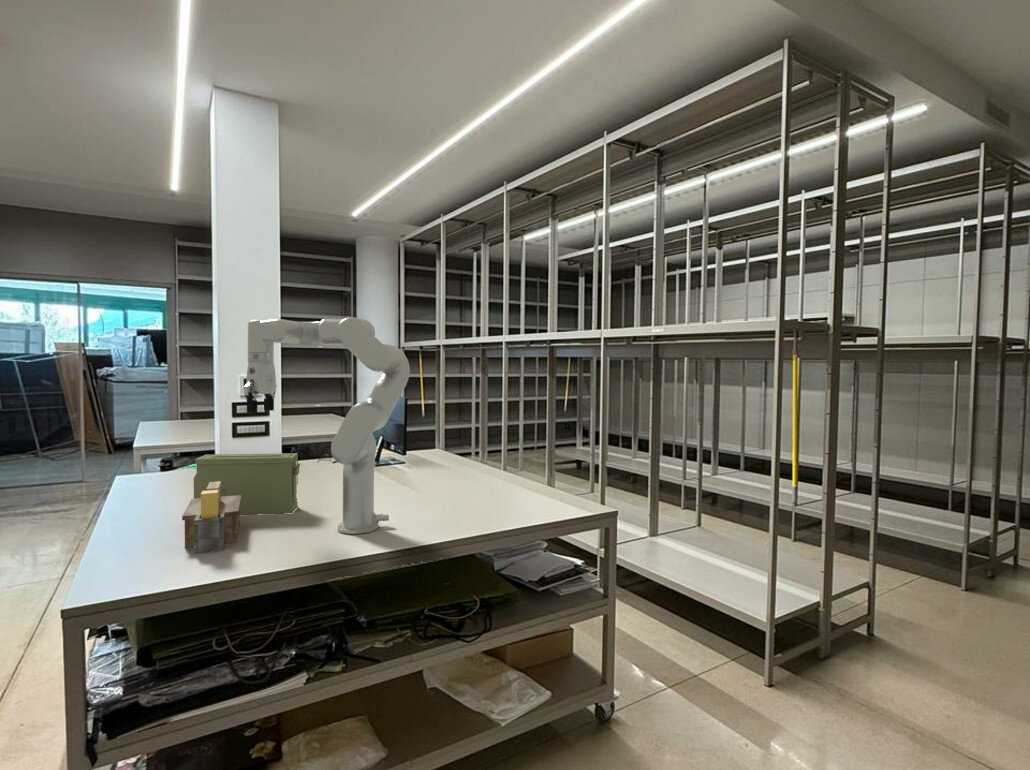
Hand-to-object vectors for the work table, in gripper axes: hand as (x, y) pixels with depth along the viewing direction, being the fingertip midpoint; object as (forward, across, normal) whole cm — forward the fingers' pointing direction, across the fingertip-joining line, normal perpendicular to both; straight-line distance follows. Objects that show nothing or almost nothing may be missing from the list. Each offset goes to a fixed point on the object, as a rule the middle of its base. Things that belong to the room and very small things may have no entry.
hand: (260, 411), depth 174 cm
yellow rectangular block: (+37, -24, +1) cm, 44 cm away
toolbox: (+37, -15, +6) cm, 40 cm away
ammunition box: (+37, +13, +12) cm, 41 cm away
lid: (+30, -15, +6) cm, 34 cm away
